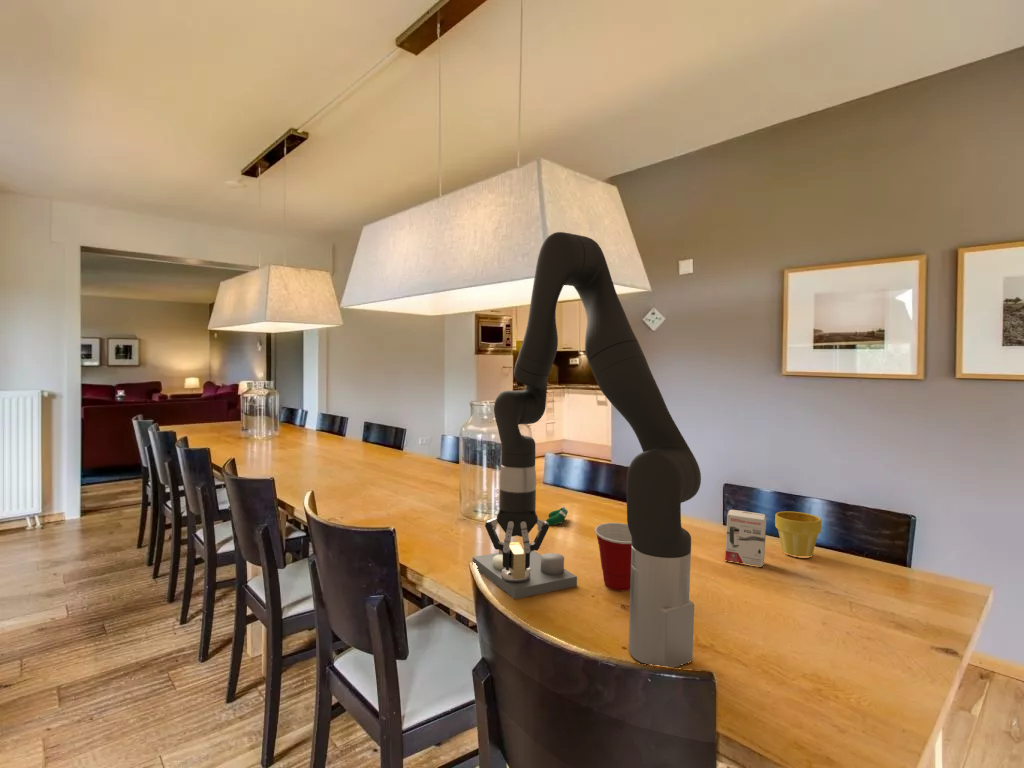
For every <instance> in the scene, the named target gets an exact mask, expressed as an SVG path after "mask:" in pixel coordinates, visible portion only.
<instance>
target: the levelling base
mask: <svg viewBox="0 0 1024 768" xmlns="http://www.w3.org/2000/svg"><path fill="white" fill-rule="evenodd" d="M501 542H502V543H504V541H501ZM511 542H515V541H513V540H511V541H510V543H511ZM520 546H521V547H522V544H521V543H520ZM522 549H523V550H524V548H522ZM473 562H474V563H476V565H477V566H478V569H479V570H478V571H479V572H480V573H481V574H482V575H484V576H485V577H486V578H487V579H489V581H491V582H492V583H494V584H495V585H496V586H497V587H498V588H500V589H501V590H502V591H504V592H505V593H506V594H507V595H509V596H510V597H511V598H512V599H513V600H517V599H521V598H526V597H527V598H528V597H531V596H536V595H540V594H545V593H550V592H554V591H558V590H565V589H568V588H569V589H570V588H574V587H577V586H578V576H577V575H576V574H573V573H572V572H570V571H569V570H567V569H566V568H565V556H564V555H563V554H560V553H554V552H547V553H543V554H540V553H538V552H537V551H535V550H534V551H532V552H531V553H530V566H529V568H526V569H528V570H529V571H530V579H529V580H527V581H525V582H518V583H515V582H508V581H505V580H503V579H502V577H501V571H502V570H503V569H505V568H506V567H503V552H502V551H501V550H498V552H494V553H488V554H482V555H476V556H472V563H473Z"/></svg>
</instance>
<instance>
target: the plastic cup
mask: <svg viewBox="0 0 1024 768" xmlns="http://www.w3.org/2000/svg"><path fill="white" fill-rule="evenodd" d="M594 533H595V535H596V539H597V544H598V548H599V550H598V551H599V557H600V564H601V570H602V577H603V582H604V586H605V587H606V588H608V589H610V590H613V591H616V592H617V591H618V592H626V591H630V581H631V550H632V537H631V534H630V531H629V528H628V524H627V523H622V522H605V523H600V524H598V525H597V526H595V528H594Z"/></svg>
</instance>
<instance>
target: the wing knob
mask: <svg viewBox="0 0 1024 768" xmlns="http://www.w3.org/2000/svg"><path fill="white" fill-rule="evenodd" d="M520 544H521V543H520V541H514V542H511V543H510V546H509V550H510V554H509V570H506V568H505V569H503V570H502V571H501V577H502V579H503V580H505V581H508V582H515V583H518V582H525V581H527V580H529V579H530V571H529V570H528V569H526V571H525V557H526V554H525V552H524V550H523V549H524V548H522V545H521V546H520Z"/></svg>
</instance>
